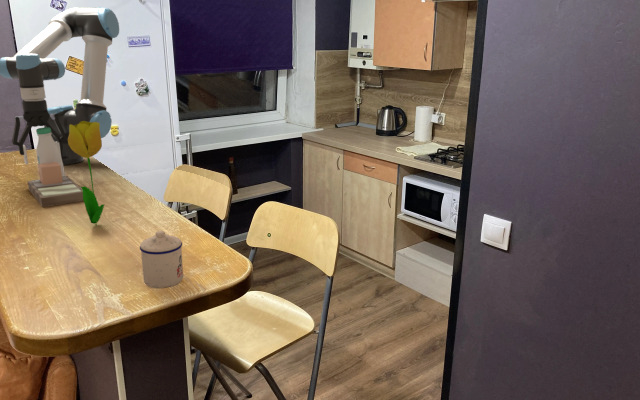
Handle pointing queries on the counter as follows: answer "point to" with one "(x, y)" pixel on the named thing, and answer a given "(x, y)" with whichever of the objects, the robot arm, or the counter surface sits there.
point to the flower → (86, 145)
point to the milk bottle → (48, 148)
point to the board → (56, 192)
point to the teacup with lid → (162, 260)
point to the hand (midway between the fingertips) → (43, 161)
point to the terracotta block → (50, 173)
